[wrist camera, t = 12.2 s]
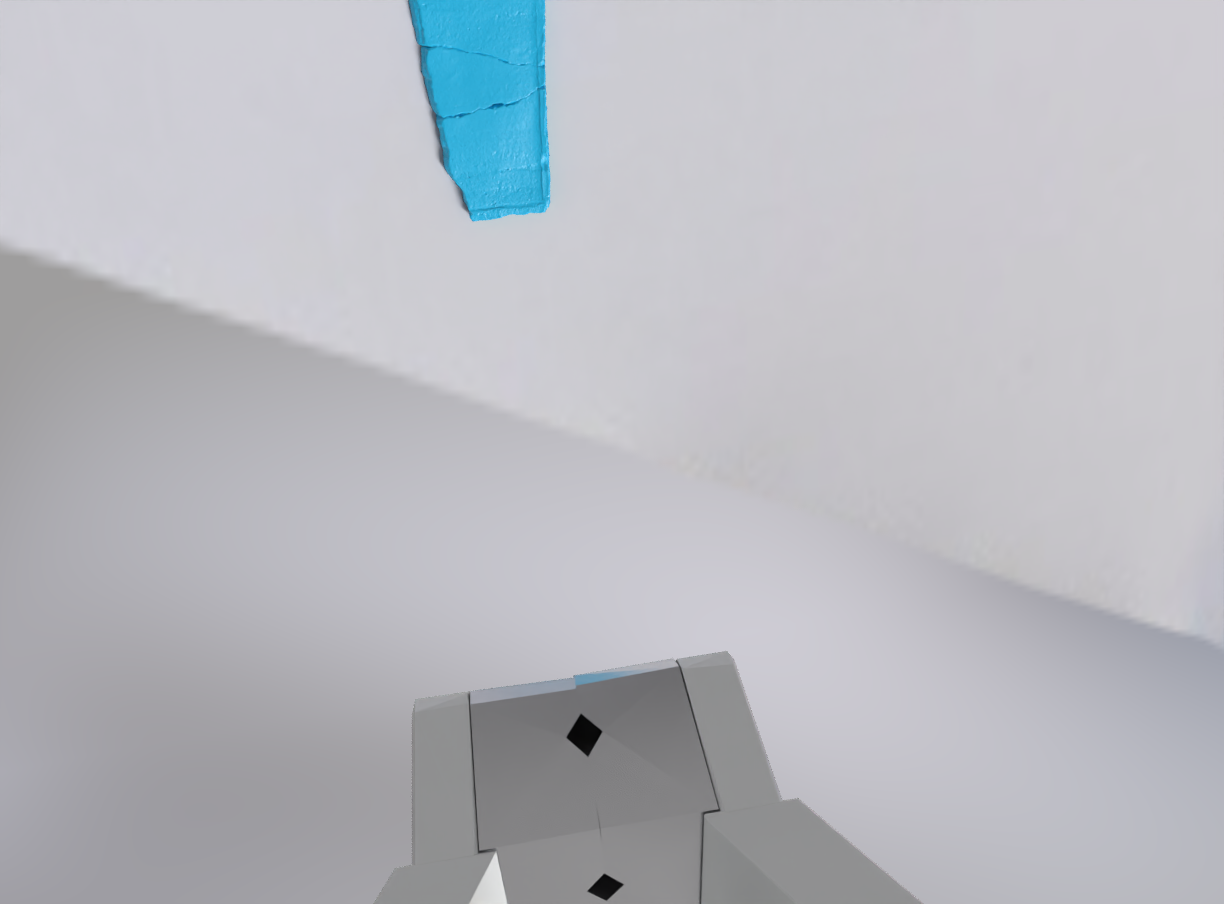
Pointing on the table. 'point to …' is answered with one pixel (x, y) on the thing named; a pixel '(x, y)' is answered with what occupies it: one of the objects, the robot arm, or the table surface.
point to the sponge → (489, 99)
